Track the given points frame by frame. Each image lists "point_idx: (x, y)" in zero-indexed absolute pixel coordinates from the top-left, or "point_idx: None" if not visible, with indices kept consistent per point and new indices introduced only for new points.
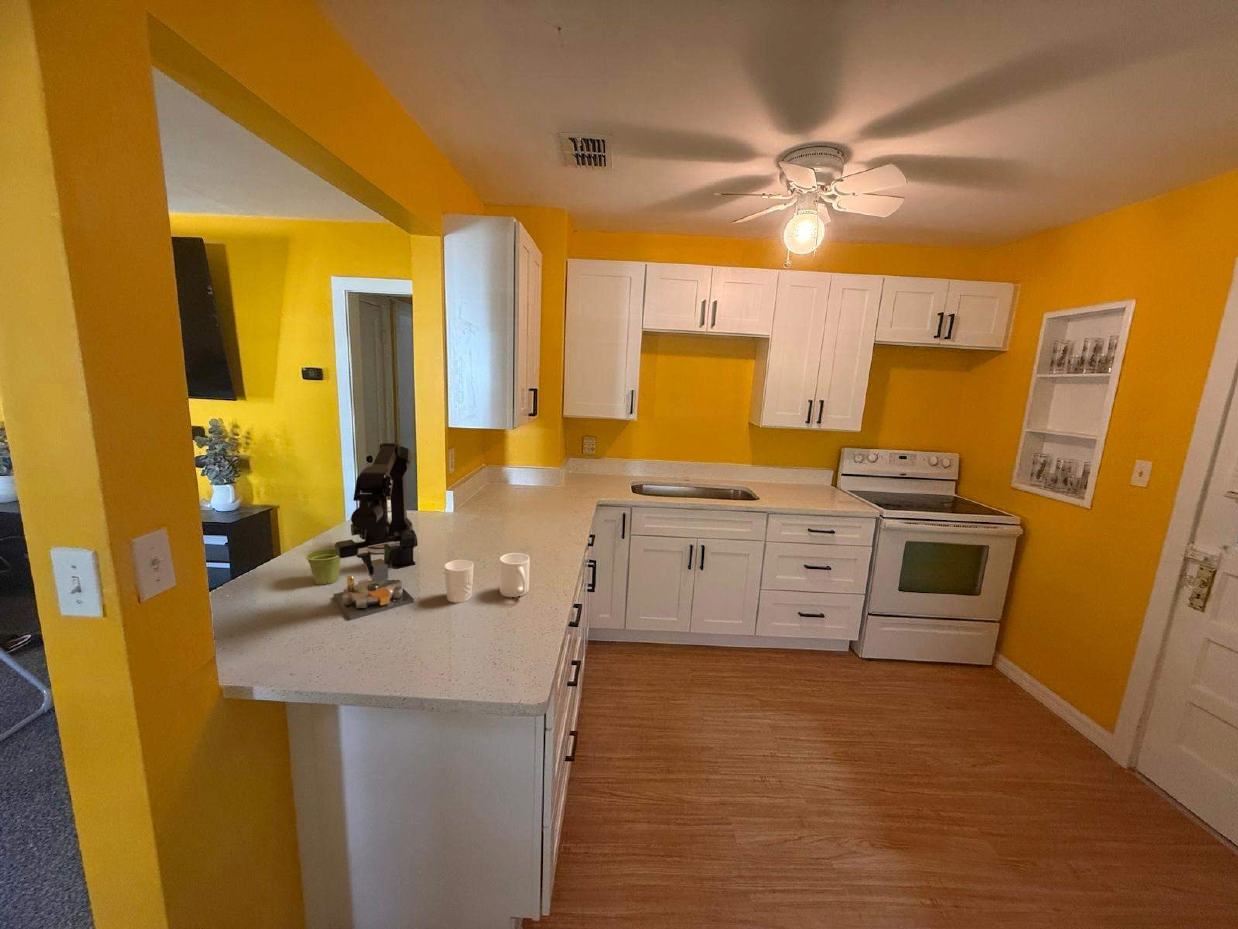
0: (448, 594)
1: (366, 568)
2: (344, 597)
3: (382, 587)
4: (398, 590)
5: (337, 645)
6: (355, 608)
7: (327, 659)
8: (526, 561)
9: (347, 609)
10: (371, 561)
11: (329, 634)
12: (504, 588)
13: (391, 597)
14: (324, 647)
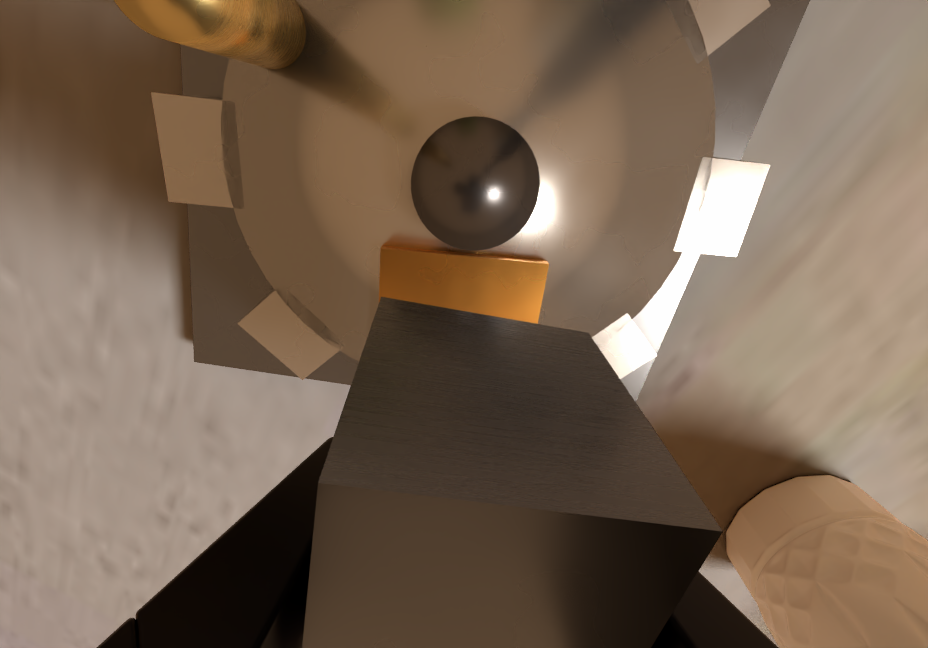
0: (754, 561)
1: (257, 511)
2: (164, 153)
3: (544, 233)
4: None
5: (90, 533)
6: (264, 276)
7: (35, 594)
8: None
9: (207, 245)
10: (400, 549)
11: (63, 418)
12: None
13: None
14: (27, 512)
